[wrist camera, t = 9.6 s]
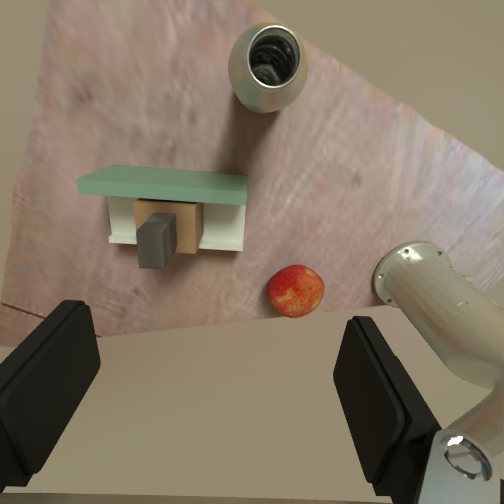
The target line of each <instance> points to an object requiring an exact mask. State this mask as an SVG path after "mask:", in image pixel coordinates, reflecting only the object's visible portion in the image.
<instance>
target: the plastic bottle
mask: <svg viewBox="0 0 504 504" xmlns="http://www.w3.org/2000/svg"><path fill="white" fill-rule="evenodd" d="M228 72H229V79H230V83H231V86H232V88H233V90H234V92H235V94H236V95H237V96H238V98H239V100H240V102H241V103H242V104H243V105H244V106H245V107H246V108H247V109H249V110H250V111H252V112H255V113H262V114H263V113H269V112H274V111H278V110H281V109H283V108H285V107H287V106H288V105H290V104H291V103H292V102H293V101H294V100H295V99H296V98H297V97H298V96H299V94H300V93H301V91H302V89H303V87H304V85H305V82H306V79H307V74H308V58H307V53H306V50H305V47H304V45H303V43H302V41H301V40H300V38H299V37H298V36H297V34H296V33H295V32H294V31H293V30H291V29H290V28H288V27H287V26H285V25H282V24H280V23H276V22H261V23H258V24H255V25H253V26H251V27H250V28H248V29H246V30H245V31H244V32H243V33H242V34H241V35H240V36H239V37H238V39H237V40H236V42H235V43H234V45H233V48H232V50H231V53H230V57H229V63H228Z"/></svg>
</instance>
